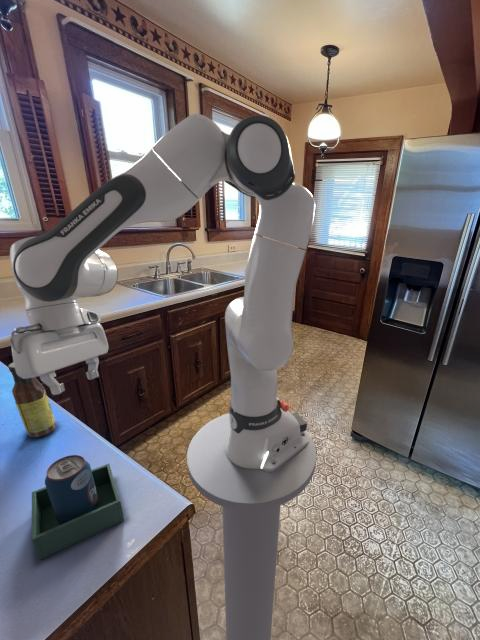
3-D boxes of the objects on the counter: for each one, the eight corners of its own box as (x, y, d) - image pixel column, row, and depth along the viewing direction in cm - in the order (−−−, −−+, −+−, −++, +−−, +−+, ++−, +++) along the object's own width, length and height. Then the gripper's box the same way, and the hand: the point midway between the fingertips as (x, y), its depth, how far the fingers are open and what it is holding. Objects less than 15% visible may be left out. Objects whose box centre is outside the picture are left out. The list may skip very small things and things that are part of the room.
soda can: (106, 512, 61) (95, 465, 56) (66, 538, 56) (49, 489, 51) (91, 492, 65) (79, 447, 60) (52, 514, 60) (36, 467, 55)
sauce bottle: (62, 425, 84) (44, 360, 76) (40, 441, 78) (18, 371, 70) (42, 421, 85) (22, 355, 77) (20, 435, 79) (-4, 367, 71)
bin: (113, 480, 68) (109, 463, 66) (124, 520, 60) (120, 501, 58) (38, 510, 61) (31, 492, 59) (39, 560, 53) (31, 540, 51)
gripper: (22, 325, 52) (48, 402, 54) (104, 313, 72) (121, 369, 74) (-9, 332, 53) (18, 407, 55) (81, 318, 73) (98, 373, 75)
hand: (77, 385), depth 65 cm, fingers open, 8 cm apart
